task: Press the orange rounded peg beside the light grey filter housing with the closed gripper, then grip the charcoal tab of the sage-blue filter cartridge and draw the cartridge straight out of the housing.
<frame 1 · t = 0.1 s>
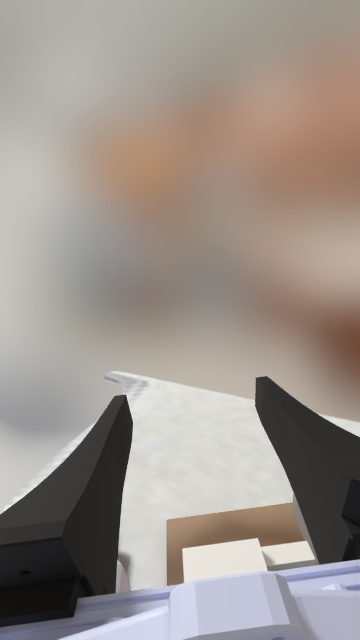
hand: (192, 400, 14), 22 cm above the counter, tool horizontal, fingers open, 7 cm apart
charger: (78, 620, 22), on the counter
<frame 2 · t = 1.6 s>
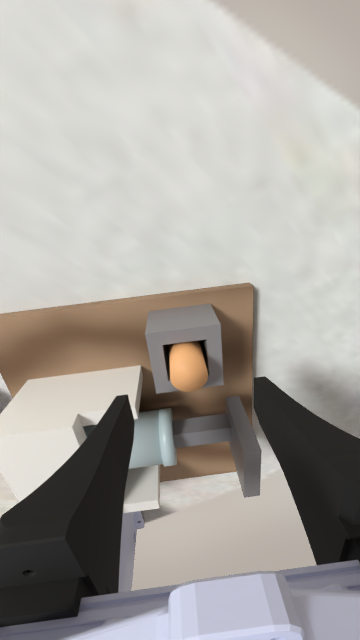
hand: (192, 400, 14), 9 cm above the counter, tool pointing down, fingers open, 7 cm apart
mounting board: (112, 413, 25), on the counter
orange rounded peg: (186, 359, 17), point 5 cm above the counter, slide at 0.0 cm
cartridge: (148, 448, 21), point 5 cm above the counter, slide at 0.0 cm
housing: (112, 413, 25), resting on mounting board
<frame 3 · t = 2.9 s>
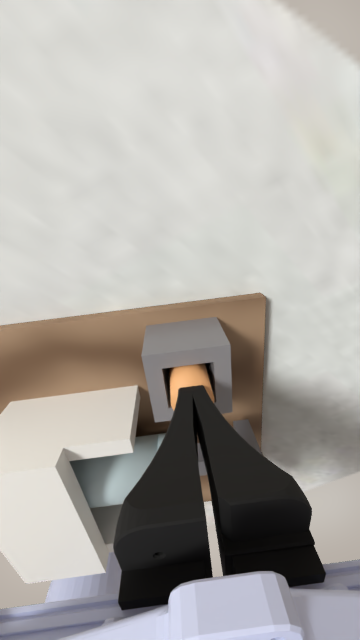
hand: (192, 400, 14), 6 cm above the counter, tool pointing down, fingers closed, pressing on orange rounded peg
mounting board: (107, 435, 23), on the counter
orange rounded peg: (189, 378, 15), point 4 cm above the counter, slide at 0.5 cm, touching gripper
cartridge: (146, 480, 18), point 5 cm above the counter, slide at 0.0 cm
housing: (107, 435, 23), resting on mounting board
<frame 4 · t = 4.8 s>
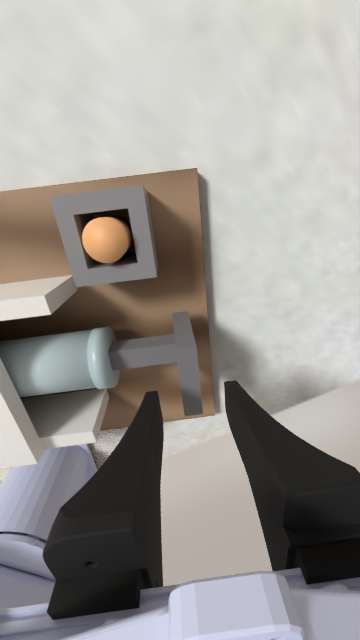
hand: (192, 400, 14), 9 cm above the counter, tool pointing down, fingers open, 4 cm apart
mounting board: (51, 343, 22), on the counter
orange rounded peg: (111, 237, 15), point 4 cm above the counter, slide at 1.2 cm
cartridge: (78, 368, 18), point 5 cm above the counter, slide at 0.0 cm
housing: (51, 343, 22), resting on mounting board
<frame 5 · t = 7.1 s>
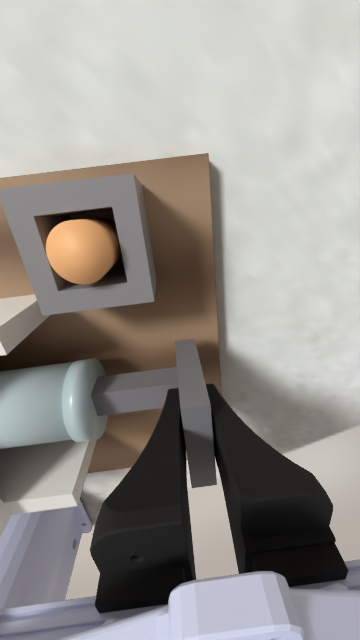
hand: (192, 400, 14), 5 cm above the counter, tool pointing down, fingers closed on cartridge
mounting board: (26, 373, 18), on the counter
orange rounded peg: (92, 247, 11), point 4 cm above the counter, slide at 1.2 cm
cartridge: (53, 415, 14), point 5 cm above the counter, slide at 0.0 cm, touching gripper
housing: (26, 373, 18), resting on mounting board
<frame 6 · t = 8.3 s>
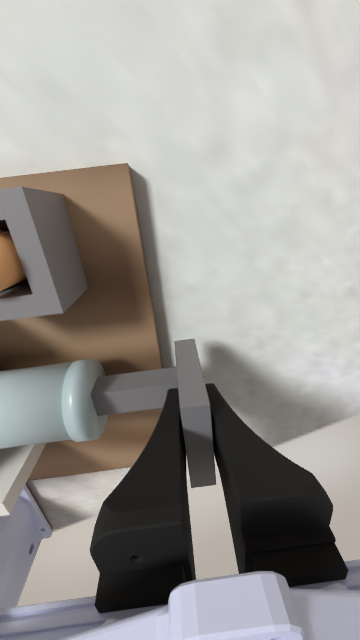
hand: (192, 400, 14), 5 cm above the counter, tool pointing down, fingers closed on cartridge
orange rounded peg: (3, 257, 11), point 4 cm above the counter, slide at 1.2 cm
cartridge: (52, 415, 14), point 5 cm above the counter, slide at 4.1 cm, touching gripper
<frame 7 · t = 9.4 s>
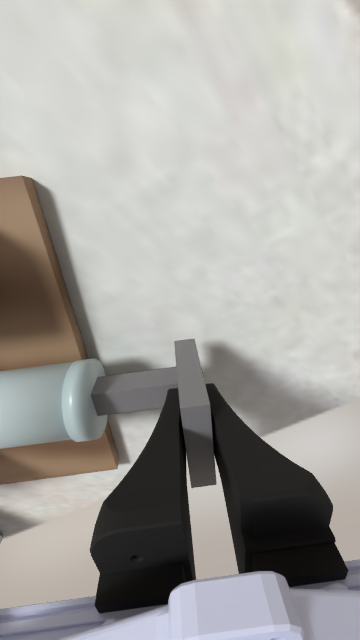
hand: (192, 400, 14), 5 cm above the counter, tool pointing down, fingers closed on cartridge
cartridge: (53, 415, 14), point 5 cm above the counter, slide at 9.3 cm, touching gripper
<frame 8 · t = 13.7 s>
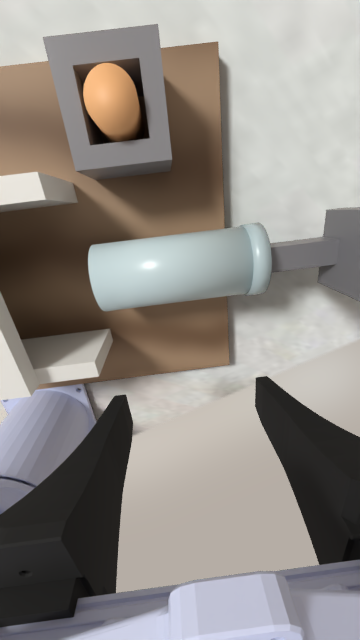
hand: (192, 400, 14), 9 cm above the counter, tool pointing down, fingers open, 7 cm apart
mounting board: (48, 275, 20), on the counter
orange rounded peg: (118, 114, 13), point 4 cm above the counter, slide at 1.2 cm
cartridge: (229, 266, 15), point 5 cm above the counter, slide at 9.5 cm
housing: (48, 275, 20), resting on mounting board
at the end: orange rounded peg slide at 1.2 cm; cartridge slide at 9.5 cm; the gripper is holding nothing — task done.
